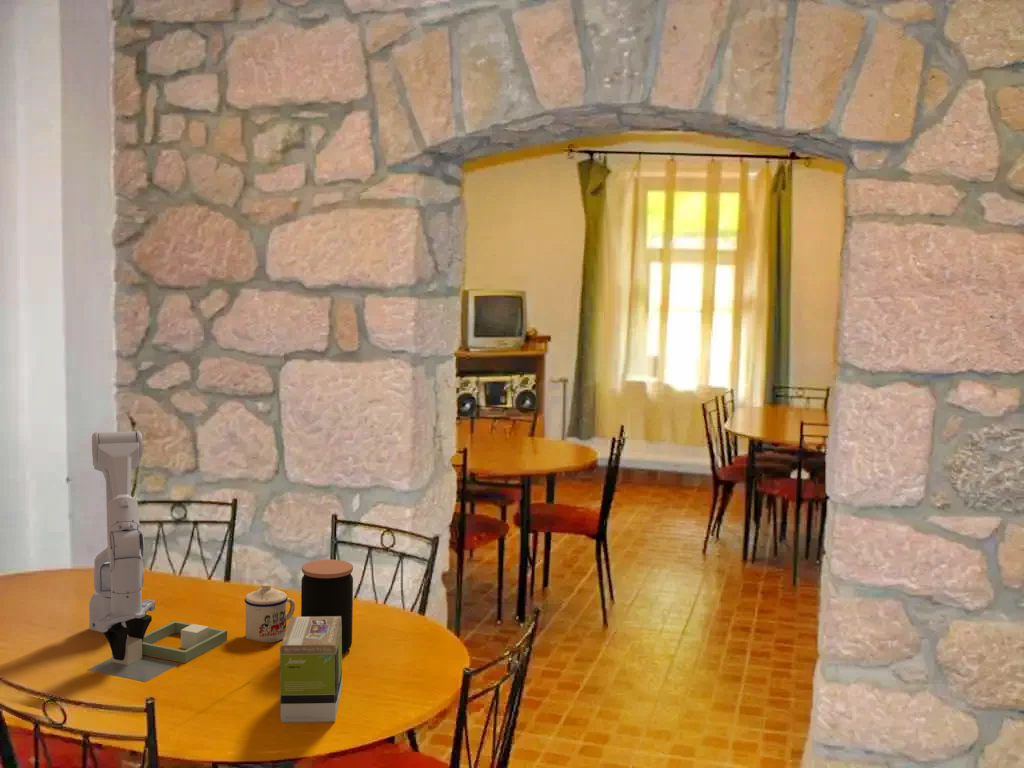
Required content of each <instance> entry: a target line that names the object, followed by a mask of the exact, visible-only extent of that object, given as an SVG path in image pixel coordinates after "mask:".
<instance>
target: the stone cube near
mask: <svg viewBox="0 0 1024 768" xmlns="http://www.w3.org/2000/svg"><path fill="white" fill-rule="evenodd" d="M142 656H143V655H142V639H139V638H134V637H129V636H127V640H126V650H125V658H124V660H116V659H114V657H113V654H112V653H111V658H112V662H115V663H120V664H125V665H130V664H132V663H134V662H136V661H138V660H140V659H142Z"/></svg>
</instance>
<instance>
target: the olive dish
mask: <svg viewBox="0 0 1024 768" xmlns="http://www.w3.org/2000/svg"><path fill="white" fill-rule="evenodd" d="M192 624H193V623H188V622H184V621H183V622H182V621H176V620H173V621H172V622H171V621H170V622H169V623H167V624H165V625H162V626H161V627H159V628H156V629H154V630H153V631H151V632H150V631H149V632H148V633H145V635H144V638H143V642H142V656H143V655H144V656H146V657H151V658H156V659H161V660H166V661H171V662H176V663H178V662H179V663H183V664H187V663H188V662H191V661H192V660H195V659H196V658H198V657H199V656H202V655H204V654H205V653H207V652H209V651H210V650H213V649H215V648H217V647H218V646H221V645H223V644H224V643H225V642H226V643H227V641H228V630H227V629H220V628H215V627H210V626H208V627H209V638H208V639H206V640H204V641H202V642H200V643H198V644H196V645H194V646H192V647H190V648H188V649H185V650H184V649H179V648H173V647H169V646H165V645H160V644H159V645H158V644H156V643H157V642H160V641H161V640H163V639H165V638H168V637H169V636H171V635H173V634H180V635H181V630H182V629H184V628H186V627H188V626H190V625H192Z"/></svg>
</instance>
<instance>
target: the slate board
mask: <svg viewBox="0 0 1024 768" xmlns="http://www.w3.org/2000/svg"><path fill="white" fill-rule="evenodd" d="M180 664H181V662H179V663H178V662H176V661H171V660H166V659H161V658H156V657H151V656H146V655H144V656H143V655H142V659H140V660H138V661H136V662H134V663H132V664H130V665H125V664H120V663H115V662H112V657H110V658H109V659H107V660H104V661H103V662H99V663H98V664H95V665H94V666H92V667H90V668H87V670H88V671H90V672H91V671H92V672H95V673H101V674H105V675H111V676H115V677H120V678H125V679H129V680H134V681H138V682H144V683H147V682H148V681H151V680H152V679H154V678H157V677H158V676H160V675H162V674H163V673H166V672H168V671H169V670H171V669H173V668H175V667H177V666H178V665H180Z"/></svg>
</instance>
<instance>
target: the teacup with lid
mask: <svg viewBox="0 0 1024 768" xmlns="http://www.w3.org/2000/svg"><path fill="white" fill-rule="evenodd" d="M244 602H245V639H246V640H250V641H256V642H261V643H267V644H270V643H272V644H273V643H276V642H279V641H281V640H283V638H284V635H285V632H286V630H287V621H290V619H291V617H292V616H293V615H294V613H295V610H296V602H295V600H294V599H292V598H289V597H288V595H287V594H286V593H285V591H282V590H279V589H276V588H274V587H272V585H271V584H270V583H262V584H261V587H260V588H258V589H256V590H254V591H251V592H249V593H247V594H246V595H245V597H244ZM287 603H289V606H290V607H289V609H288V613H287Z"/></svg>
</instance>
